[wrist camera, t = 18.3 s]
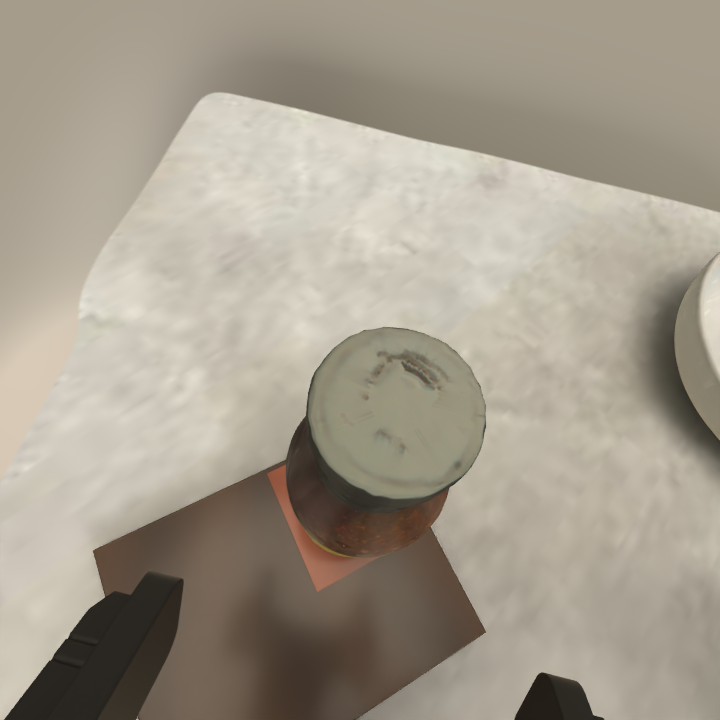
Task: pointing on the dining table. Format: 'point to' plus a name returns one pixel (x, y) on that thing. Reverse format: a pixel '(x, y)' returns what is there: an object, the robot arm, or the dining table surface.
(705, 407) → the serving bowl
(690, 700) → the dining table surface
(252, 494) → the walnut board
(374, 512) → the sauce bottle
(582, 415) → the dining table surface
